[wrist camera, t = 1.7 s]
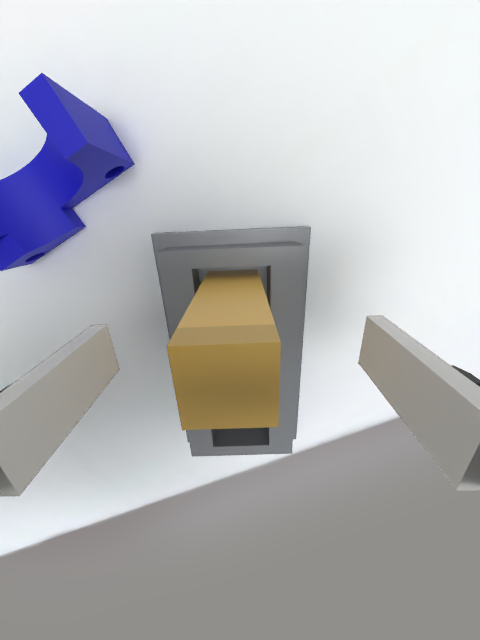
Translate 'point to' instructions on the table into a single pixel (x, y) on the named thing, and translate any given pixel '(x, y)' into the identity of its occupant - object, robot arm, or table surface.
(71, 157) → the cable clip
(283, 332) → the panel
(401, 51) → the table surface
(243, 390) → the plug
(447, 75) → the table surface
